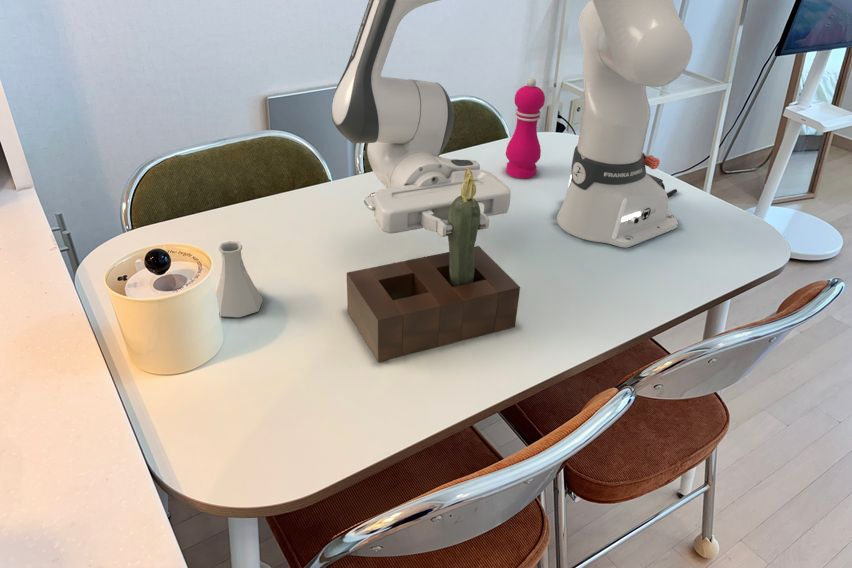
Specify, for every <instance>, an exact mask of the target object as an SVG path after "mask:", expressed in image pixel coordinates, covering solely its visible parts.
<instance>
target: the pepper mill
mask: <svg viewBox="0 0 852 568" xmlns="http://www.w3.org/2000/svg"><path fill="white" fill-rule="evenodd" d="M536 85H537V80H536V79H535V78H532V77H531V78H529V79H527V82H526V85H523V86H521V87H520V88H518V89H517V91H516V92H515V95H514V104H515V106H516V109H515V114H514V116H515V118H516V125H515V129H514V132H513V134H512V136H511V138H510V139H509V142H508V143H507V146H506V149H505V157H506V159H507V160H508V162H507V163H506V168H505V172H506V174H507V175H508V176H510V177H513V178H515V179H521V180H523V179H524V180H526V179H531V178H534V177H535V176H536V174H537V166H538V165H537V164H536V163H538V161H540V159H541V155H542V154H541V152H542V149H541V143H540V141H539V137H538V131H537V130H538V121H539V120H540V119H541V109H542V108H543V107H544V105H545V101H546V96H545V93H544V91H543V90H542V89H541V88H540V87H539V86H536Z"/></svg>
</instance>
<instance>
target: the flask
mask: <svg viewBox="0 0 852 568" xmlns="http://www.w3.org/2000/svg"><path fill="white" fill-rule="evenodd" d="M242 250H243V244H241V243H240V241H236V240H235V241H233V240H230V241H225V242H221V243H220V245H219V247H218V251H219V252H220V253H221V259H222V260H221V261H222V262H221V273H220V278H219V282H218V286H217V289H216V293H217V298H218V303H219V308H220V316H219V317H225V318H226V317H227V318H242V317H245V316H248V315H251V314H254V313H257V312H259V310H260V309H261V306H262V304H263V301H264V300H263V297H262V296H261V294H260V292H259V291H258V289H257V287H256V285H255V284H254V283H253V280H252V278H251V276H250V275H249V272H248V271H247V269H246V267H245V263H244V261H243V257H242Z"/></svg>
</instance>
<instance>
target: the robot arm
mask: <svg viewBox="0 0 852 568" xmlns="http://www.w3.org/2000/svg"><path fill="white" fill-rule="evenodd" d="M438 1H440V0H368V2H367V5H366V7H365V8H366V9H365V11H364V14H363V17H362V20H361V23H360V27H359V29H358V32H357V35H356V37H355V41H354V44H353V46H352V50H351V53H350V55H349V58H348V61H347V63H346V66H345V69H344V71H343V73H342V75H341V77H340V79H339V81H338V84H337V86H336V89H335V91H334V94H333V97H332V103H331V119H332V120H331V121H332V122H333V124H334V126H335V128H336V129H337V131H339V133H340V134H341V135H342V136H343V137H344V138H345V139H346V140H347V141H349V142H350V143H352V144H367V147H366V154H367V160H368V162H369V166H370V168H371V169H372V171H373V173H374V175H375V176H376V177H377V179H378V180H379V182H380V183H381V184H382V185H383V186H384V187H385V188H382V189H378V190H376V191H374V192H372V193H370V194H369V195H368V196H366V197H364V199H363V204H364V205H365V207H366V208H367V209H368V210H369V211H372V212H373V216H374V219H375V221H376V223H377V225H378V227H379V228H380V230H381V231H382V232H384V233H386V234H392V235H393V234H398V233H404V232H409V231H413V230H415V231H416V230H420V229H424V230H427V231H431V232H434V233H437V234H438V235H439V236H440V237H441V238H443V237H444V238H445V237H448V236H449V235H452V229H453V226H452V223H450V222H449V220H448V215H449V210H450V207H451V205H452V203H453V201H454V200H455V199H456V198H457V197H458V196H461V186H462V184H463V181H464V177H465V176H464V175H465V172H466V167H467V168H469V169H470V170H471V171H472V176H473V179H474V182H475V185H476V194H475V196H474V197H473V198H474V199H475V200H476V201H477V202H478V204H479V207H480V223H479V227H478V231H480V230H481V231H482V230H485V229H489V225H490V218H489V217H492V216H497V215H504V214H507V213H508V212H509V209H510V205H511V198H512V193H511V192H512V191H511V189H510V187H509V186H508V185H507V184H506V183H505V182H503V180H501V179H499V178H498V177H497V176H496V175H494V174H493V173H491V172H489V171H487V170H483V169H481V164H480V163H479V161H477V160H474V159H458V158H457V159H455V158H447V157H442V156H440V155H441V154H442V153H443V151H444V150H445V148H446V147H447V144H449V143H448V142H449V141H450V138H451V135H452V132H453V129H454V123H455V109H454V107H453V103H452V101H451V98H450V96H449V94H448V92H447V91H446V89H445V88H444V87H443V86H442V84H440V83H439V82H435V81H434V82H433V81H428V80H427V81H426V80H420V79H412V78H408V79H405V78H398V77H389V76H381V75H382V73H383V72H382V71H383V68H384V66H385V63H386V60H387V58H388V55H389V51H390V49H391V47H392V43H393V40H394V37H395V35H396V32H397V30H398V27H399V24H400V23H401V21H402V20H403V19H404V18H405V17H406V16H407V15H408V14H409V13H410V12H412V11H413V10H415V9H417V8H419V7H422V6H425V5H427V4H430V3H435V2H438ZM577 31H578V32H577V33H578V36H579V40H580V44H581V50H582V78H583V81H582V82H583V107H582V114H581V121H580V122H581V123H580V128H579V135H578V140H577V141H578V142H577V145H576V146H575V147H574V150H573V156H572V161H571V173H570V178H569V182H568V187H567V190H566V194H565V197H564V199H563V203H562V205H561V207H560V209H559V211H558V214H557V215H556V222H557V225H558V226H559V227H560V228H561V229H562V230H563V231H565V232H566V233H567V234H569V235H571V236H574V237H576V238H578V239H582V240H585V241H589V242H594V243H595V242H596V243H604V244H609V245H613V246H615V247H618V248H623V249H625V248H626V249H627V248H630V247H633V246H635V245H639V244H641V243H644V242H646V241H648V240H650V239H653V238H657V237H658V236H660V235H663V234H665V233H668V232H671V231H673V230H675V229H677V228H678V226H679V225H678V224H679V223H678V220H677V218H676V216H675V215H673V214H672V213H671V212H670V210H668V209H669V208H668V207H669V198H670V197H671V196H672V195H674V194H676V193H678V190H677V188H673V189H672V190H671V191H669V192H666V187H665V184H664V183H663V179H662V178H660V177H657V176H654V175H652V174H649V173H647V169H646V168H647V167H648V168H650V169H651V170H656V169H658V167H659V166H660V164H661V160H660V159H659V158H657V157H655V156H654V155H652V154H649V155H646V154H645V153H644V152H643V151H644V147H645V143H646V138H647V133H648V129H649V125H650V120H651V106H650V103H649V99H648V94H647V87H649V88H661V87H664V86H667V85H669V84H671V83H673V82H674V81H676V80H677V79H679V77H680V76H681V75H682V74H683V73H684V72H685V70H686V69H687V67H688V65H689V63H690V61H691V57H692V54H693V40H692V37H691V35H690V33H689V31H688V30H687V28H686V26H685V25H684V23H683V21H682V19H681V18H680V15H679V14H678V11H677V9H676V5H675V3H674V0H589V1H588V2H587V3H586V5H584V7H583V9H582V11H581V12H580V14H579V18H578V23H577Z"/></svg>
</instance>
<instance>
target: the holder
mask: <svg viewBox="0 0 852 568" xmlns="http://www.w3.org/2000/svg"><path fill="white" fill-rule="evenodd" d="M449 263H450V260H449V251H446V252H441V253H437V254H431V255H427V256H422V257H416V258H411V259H406V260H402V261H401V260H400V261H397V262H392V263H388V264H387V263H386V264H382V265H377V266H373V267H367V268H362V269H357V270H352V271H348V272H346V298H347V299H346V300H347V303H346V304H347V314H348V315H349V317H350V319H351V320H352V322H353V323H354V325H355V327H356V328H357V330H358V331H359V333H360V335H361V337H362V339H363V340H364V341H365V343H366V345H367V347H368V348H369V350H370V351H371V353H372V355H373V357H374V358H375V360H376V362H377V363H380V362H384V361H388V360H392V359H396V358H401V357H404V356H408V355H412V354H416V353H420V352H424V351H428V350H431V349H436V348H441V347H444V346H447V345H451V344H455V343H460V342H463V341H466V340H469V339H474V338H479V337H482V336H486V335H490V334H494V333H498V332H501V331H502V332H503V331H505V330H506V331H507V330H509V329H514V328H516V323H517V316H518V308H519V299H520V291H521V286H520V285H519V284H518V283H517V282H516V281H515V280H514V279H513V278H512V277H511V276H510V275H509V274H508V273H507V272H505V270H504V269H503V268H502V267H501V266H500V265H499V264H497V262H496V261H495V260H494V259H493V258H492V257H491V256H489V255H488V253H487V252H486V251H485V250H484V249H483V248H481V247H480V245H475V248H474V267H475V269H474V279H473V283H469V284H464V285H460V286H456V287H452V286H451V279H450V271H449Z"/></svg>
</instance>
